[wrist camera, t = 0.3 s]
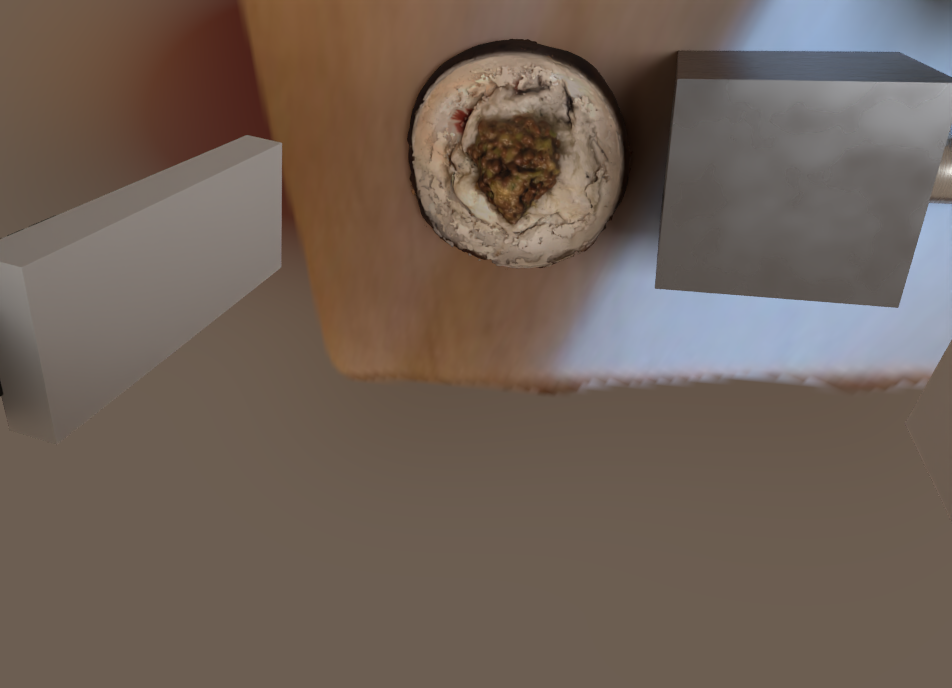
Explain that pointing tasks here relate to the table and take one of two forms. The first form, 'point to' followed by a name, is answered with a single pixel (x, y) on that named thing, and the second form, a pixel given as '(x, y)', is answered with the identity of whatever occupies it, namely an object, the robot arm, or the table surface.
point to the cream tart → (518, 153)
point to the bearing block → (800, 173)
